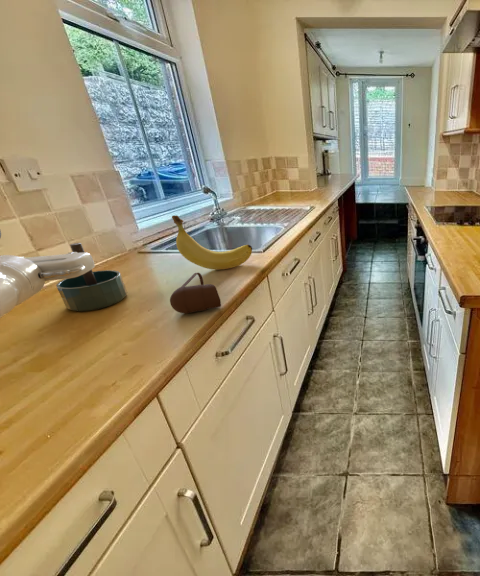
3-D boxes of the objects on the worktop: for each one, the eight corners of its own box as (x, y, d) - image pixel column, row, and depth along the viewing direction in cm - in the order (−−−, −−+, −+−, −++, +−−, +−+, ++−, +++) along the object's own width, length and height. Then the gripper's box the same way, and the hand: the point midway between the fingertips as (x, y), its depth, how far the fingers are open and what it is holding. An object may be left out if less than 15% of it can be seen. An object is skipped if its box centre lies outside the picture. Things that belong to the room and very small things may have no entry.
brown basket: (223, 311, 83) (217, 287, 81) (171, 320, 79) (163, 295, 76) (225, 286, 98) (220, 265, 96) (182, 292, 94) (176, 271, 92)
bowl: (71, 318, 81) (59, 293, 78) (64, 302, 89) (53, 279, 86) (133, 300, 90) (125, 277, 87) (121, 288, 98) (113, 266, 95)
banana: (253, 260, 121) (243, 207, 112) (256, 265, 116) (246, 210, 108) (184, 272, 110) (168, 214, 102) (185, 277, 105) (168, 217, 97)
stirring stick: (94, 301, 87) (70, 245, 81) (92, 299, 89) (69, 244, 82) (104, 299, 89) (81, 243, 82) (102, 296, 90) (80, 242, 84)
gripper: (71, 257, 62) (99, 239, 74) (-75, 270, 56) (-18, 249, 67) (83, 286, 65) (109, 265, 77) (-55, 302, 58) (-3, 276, 70)
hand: (48, 257), depth 72 cm, fingers open, 8 cm apart
